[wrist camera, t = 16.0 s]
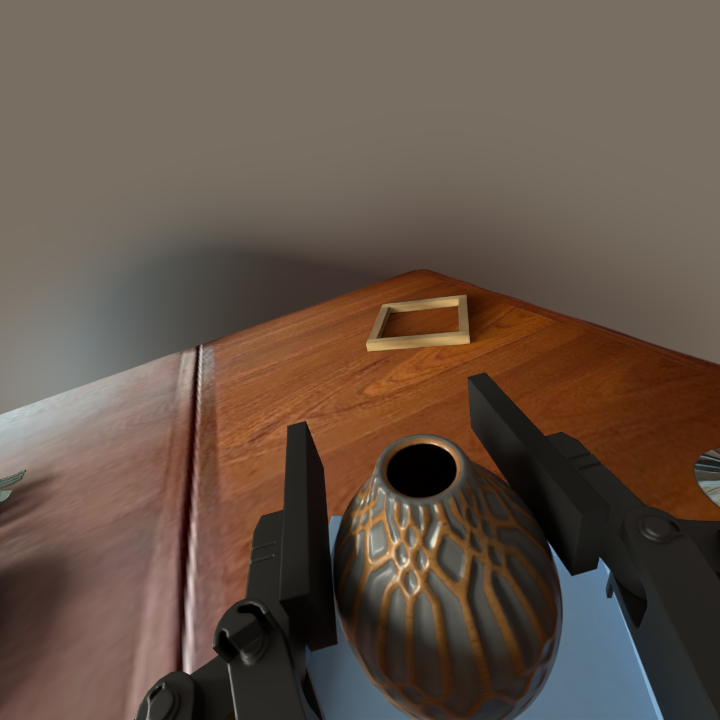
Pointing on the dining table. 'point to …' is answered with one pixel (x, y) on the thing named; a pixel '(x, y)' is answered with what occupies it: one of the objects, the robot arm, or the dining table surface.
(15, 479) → the cutlery set
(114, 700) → the dining table surface
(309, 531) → the robot arm
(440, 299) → the oak frame
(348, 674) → the blue tray
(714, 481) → the wine glass
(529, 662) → the vase
